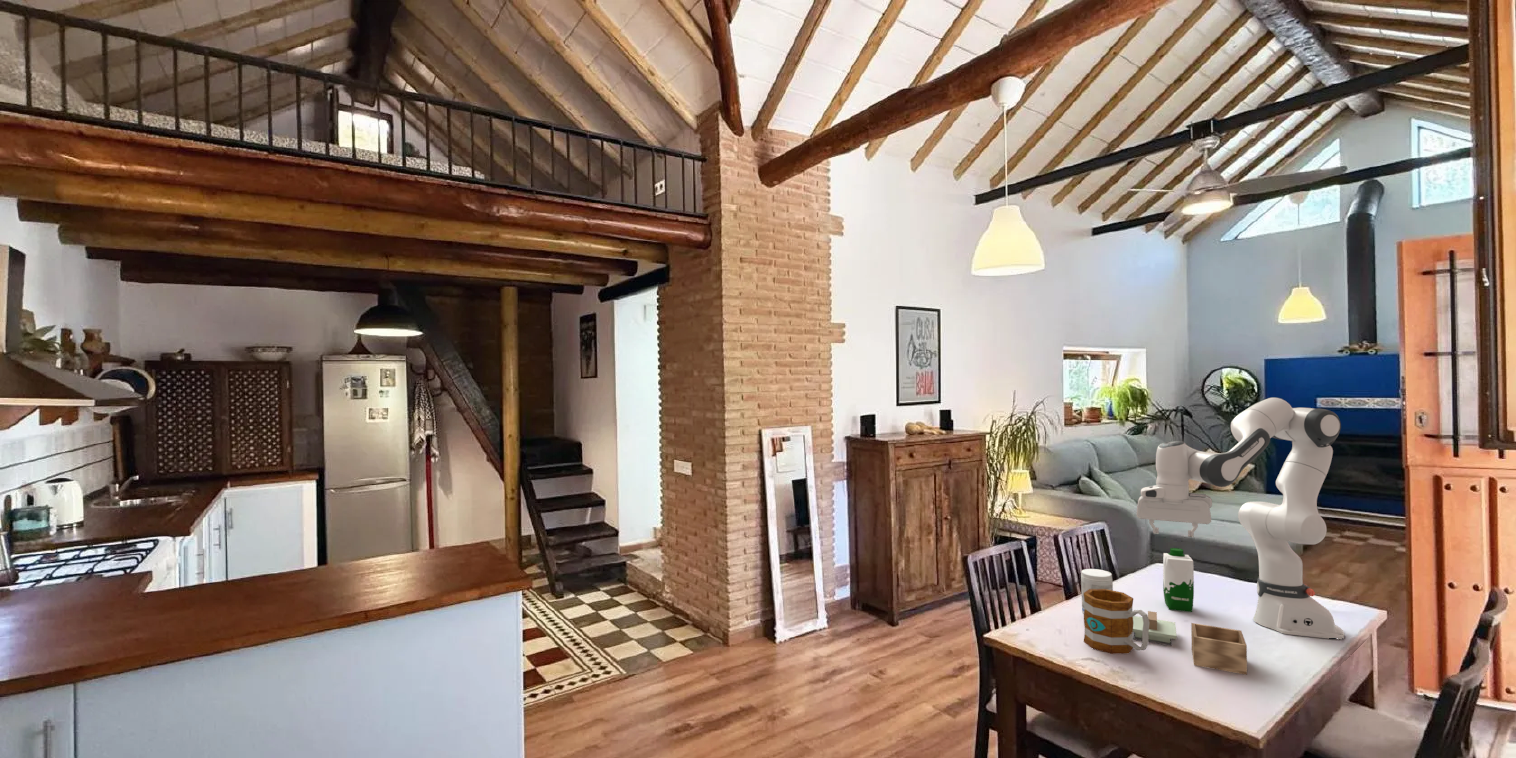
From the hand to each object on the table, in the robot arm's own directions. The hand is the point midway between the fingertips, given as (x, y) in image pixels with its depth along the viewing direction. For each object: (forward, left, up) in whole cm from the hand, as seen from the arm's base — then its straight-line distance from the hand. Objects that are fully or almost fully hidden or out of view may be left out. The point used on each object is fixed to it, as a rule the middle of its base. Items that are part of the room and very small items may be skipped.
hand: (1173, 535), depth 208 cm
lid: (+6, +9, -28) cm, 30 cm away
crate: (-10, +21, -31) cm, 38 cm away
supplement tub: (+22, -2, -31) cm, 38 cm away
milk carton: (-2, -24, -31) cm, 39 cm away
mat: (+6, +9, -31) cm, 32 cm away
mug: (+15, +25, -31) cm, 42 cm away
